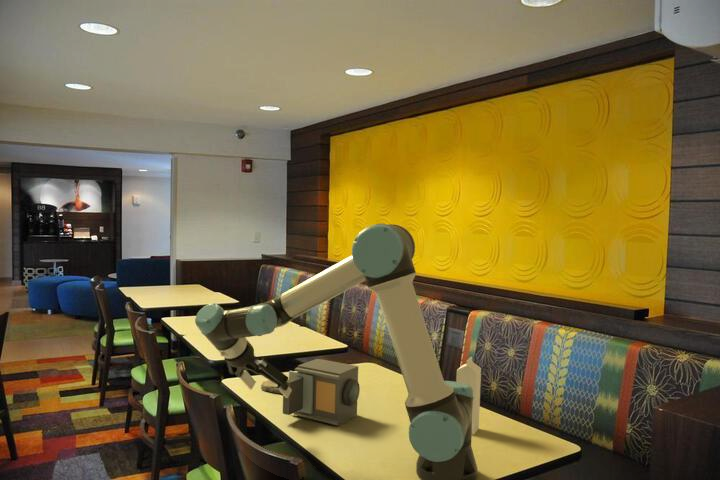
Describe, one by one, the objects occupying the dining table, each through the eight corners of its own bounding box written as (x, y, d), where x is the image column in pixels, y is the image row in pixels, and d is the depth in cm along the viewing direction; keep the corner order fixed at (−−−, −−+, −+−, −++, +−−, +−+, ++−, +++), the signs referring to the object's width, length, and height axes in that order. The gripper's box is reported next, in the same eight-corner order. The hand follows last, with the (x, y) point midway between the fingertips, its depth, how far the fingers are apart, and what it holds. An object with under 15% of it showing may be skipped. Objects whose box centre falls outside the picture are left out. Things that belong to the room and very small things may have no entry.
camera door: (312, 413, 173) (313, 375, 173) (297, 420, 166) (298, 381, 166) (289, 407, 178) (290, 370, 177) (274, 414, 171) (275, 376, 171)
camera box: (362, 416, 177) (363, 367, 177) (341, 428, 166) (343, 376, 166) (316, 405, 186) (317, 358, 186) (293, 416, 176) (294, 366, 175)
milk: (454, 431, 167) (456, 359, 166) (460, 425, 173) (462, 355, 172) (474, 435, 164) (476, 362, 164) (479, 428, 170) (481, 357, 169)
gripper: (194, 353, 153) (232, 393, 166) (264, 367, 140) (298, 409, 153) (209, 331, 157) (244, 371, 170) (278, 343, 144) (310, 386, 158)
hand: (270, 389), depth 162 cm, fingers open, 13 cm apart
